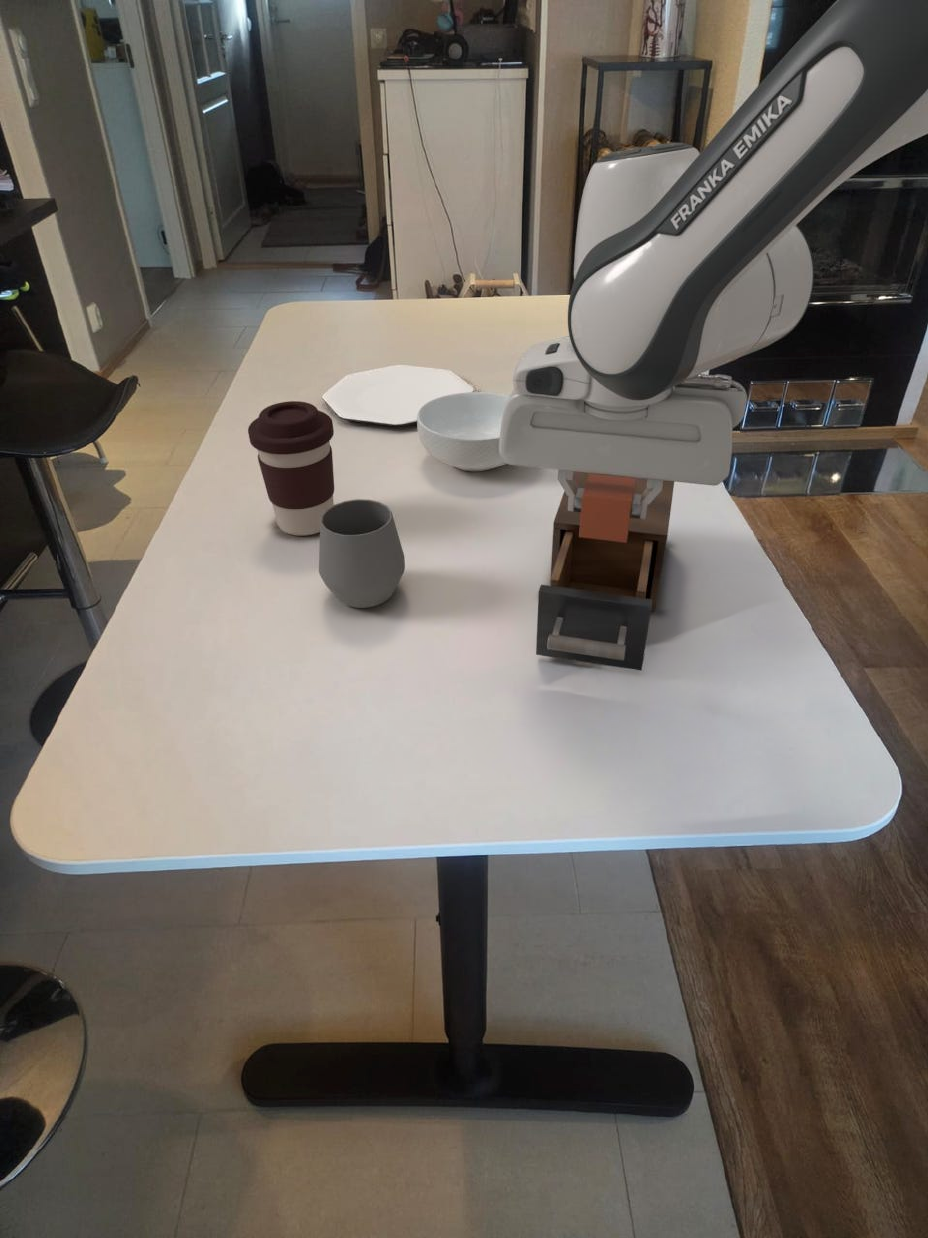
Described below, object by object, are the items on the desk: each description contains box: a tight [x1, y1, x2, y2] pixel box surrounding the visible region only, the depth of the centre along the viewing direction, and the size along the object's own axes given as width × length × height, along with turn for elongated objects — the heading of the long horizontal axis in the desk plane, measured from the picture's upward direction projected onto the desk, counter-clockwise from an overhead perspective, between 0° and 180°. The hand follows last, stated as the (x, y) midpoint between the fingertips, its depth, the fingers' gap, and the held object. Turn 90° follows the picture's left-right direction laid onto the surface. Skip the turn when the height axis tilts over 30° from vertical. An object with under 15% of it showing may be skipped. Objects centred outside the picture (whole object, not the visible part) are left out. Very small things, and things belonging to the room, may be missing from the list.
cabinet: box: [549, 471, 675, 612], centre depth 90 cm, size 14×12×10 cm
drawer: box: [535, 530, 653, 671], centre depth 79 cm, size 17×10×8 cm, turn 165°
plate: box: [321, 364, 475, 427], centre depth 133 cm, size 24×24×2 cm
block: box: [579, 474, 636, 543], centre depth 75 cm, size 4×4×4 cm
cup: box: [318, 498, 406, 609], centre depth 87 cm, size 10×9×10 cm
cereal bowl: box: [416, 391, 510, 472], centre depth 114 cm, size 17×17×7 cm
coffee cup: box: [247, 400, 335, 536], centre depth 98 cm, size 10×10×15 cm
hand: (606, 512), depth 75 cm, fingers closed on block, 4 cm apart
